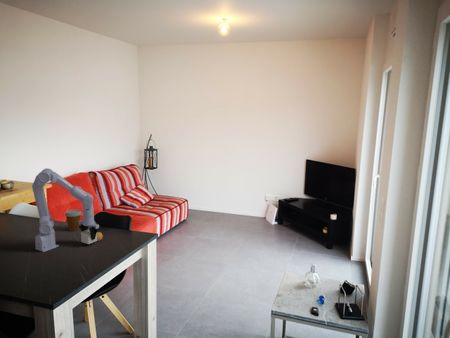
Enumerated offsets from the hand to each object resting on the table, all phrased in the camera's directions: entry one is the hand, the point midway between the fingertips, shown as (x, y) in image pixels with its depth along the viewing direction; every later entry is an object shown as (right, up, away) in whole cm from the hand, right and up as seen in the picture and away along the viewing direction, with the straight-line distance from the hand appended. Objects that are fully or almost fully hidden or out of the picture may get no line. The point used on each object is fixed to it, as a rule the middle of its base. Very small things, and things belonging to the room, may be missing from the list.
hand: (89, 238), depth 199 cm
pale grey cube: (0, -2, 0) cm, 2 cm away
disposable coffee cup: (-19, +1, +23) cm, 29 cm away
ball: (+3, 0, +5) cm, 6 cm away
